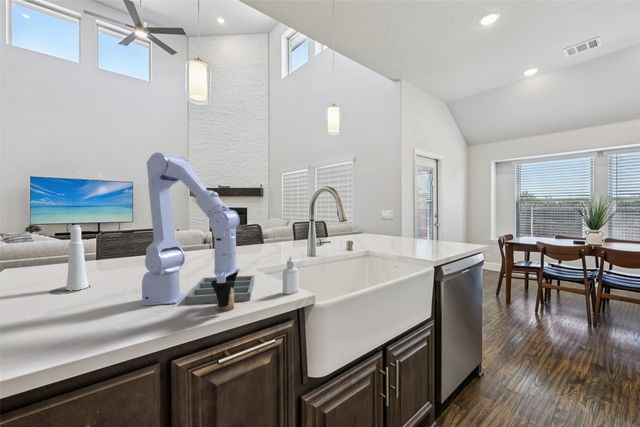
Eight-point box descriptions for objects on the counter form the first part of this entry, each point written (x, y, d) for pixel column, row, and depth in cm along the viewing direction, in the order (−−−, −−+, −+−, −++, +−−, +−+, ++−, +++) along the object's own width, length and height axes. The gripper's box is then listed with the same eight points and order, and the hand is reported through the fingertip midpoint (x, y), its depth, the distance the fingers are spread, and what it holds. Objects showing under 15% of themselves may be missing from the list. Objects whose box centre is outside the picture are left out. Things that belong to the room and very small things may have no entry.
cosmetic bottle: (78, 291, 92) (76, 226, 91) (60, 291, 92) (58, 226, 91) (93, 285, 98) (91, 224, 97) (76, 285, 98) (75, 224, 97)
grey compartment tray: (185, 304, 80) (185, 296, 80) (203, 283, 101) (203, 277, 101) (250, 300, 83) (249, 293, 83) (254, 281, 104) (254, 275, 104)
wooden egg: (216, 312, 74) (215, 288, 74) (219, 306, 79) (218, 283, 78) (232, 311, 75) (232, 287, 75) (235, 305, 79) (234, 282, 79)
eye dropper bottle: (300, 293, 90) (300, 257, 89) (283, 295, 88) (283, 258, 88) (297, 289, 94) (297, 255, 94) (281, 291, 92) (281, 256, 92)
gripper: (236, 257, 70) (237, 310, 70) (242, 248, 84) (243, 292, 85) (207, 258, 69) (208, 312, 69) (218, 249, 83) (219, 293, 83)
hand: (225, 301), depth 77 cm, fingers open, 7 cm apart
